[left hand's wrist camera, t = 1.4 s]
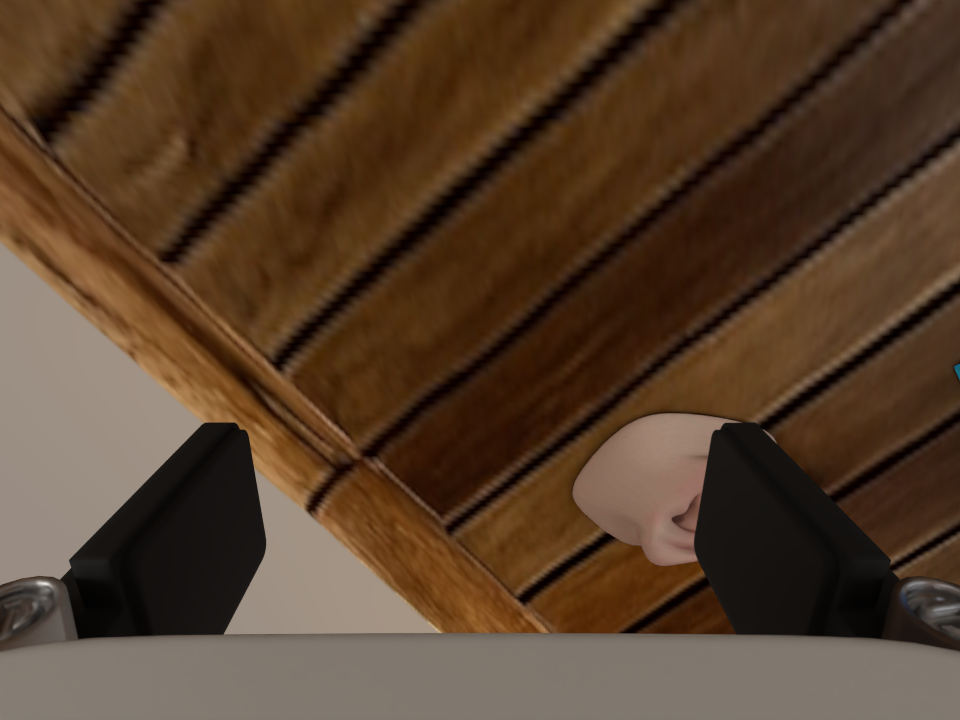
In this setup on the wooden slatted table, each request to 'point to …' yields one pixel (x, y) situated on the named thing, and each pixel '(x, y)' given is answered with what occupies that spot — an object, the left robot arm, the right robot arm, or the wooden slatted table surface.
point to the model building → (957, 370)
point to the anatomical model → (651, 483)
